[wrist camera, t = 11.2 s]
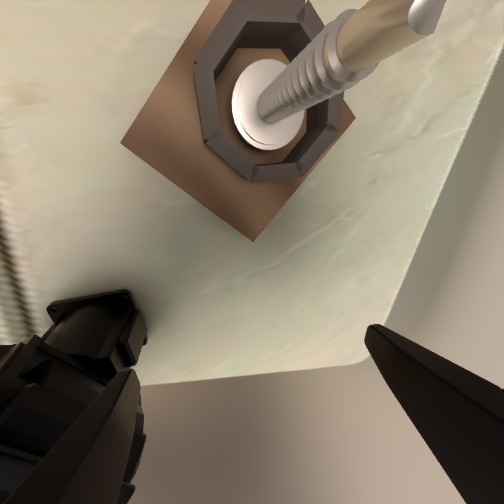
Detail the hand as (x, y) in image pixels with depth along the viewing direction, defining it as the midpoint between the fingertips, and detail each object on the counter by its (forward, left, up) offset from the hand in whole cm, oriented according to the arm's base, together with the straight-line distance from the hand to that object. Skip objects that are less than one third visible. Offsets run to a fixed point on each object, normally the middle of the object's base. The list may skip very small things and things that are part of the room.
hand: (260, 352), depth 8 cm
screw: (+4, +10, -12) cm, 16 cm away
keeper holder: (+3, +9, -13) cm, 16 cm away
